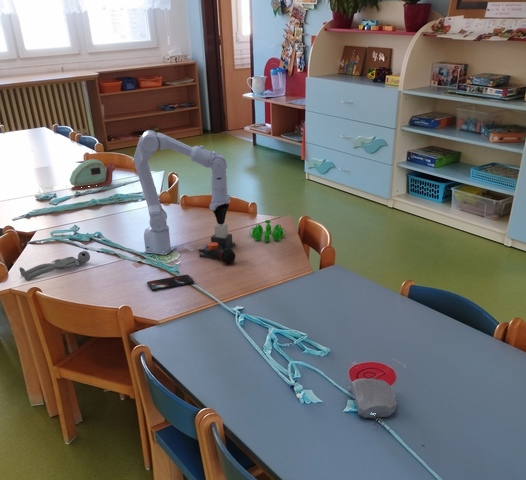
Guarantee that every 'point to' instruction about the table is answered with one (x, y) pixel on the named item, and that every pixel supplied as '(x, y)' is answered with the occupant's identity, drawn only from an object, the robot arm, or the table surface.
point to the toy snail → (91, 175)
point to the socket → (222, 240)
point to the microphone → (222, 255)
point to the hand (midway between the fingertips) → (221, 223)
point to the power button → (213, 245)
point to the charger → (221, 230)
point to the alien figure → (55, 265)
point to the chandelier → (267, 232)
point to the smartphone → (170, 282)
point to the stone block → (373, 397)
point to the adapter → (205, 255)
